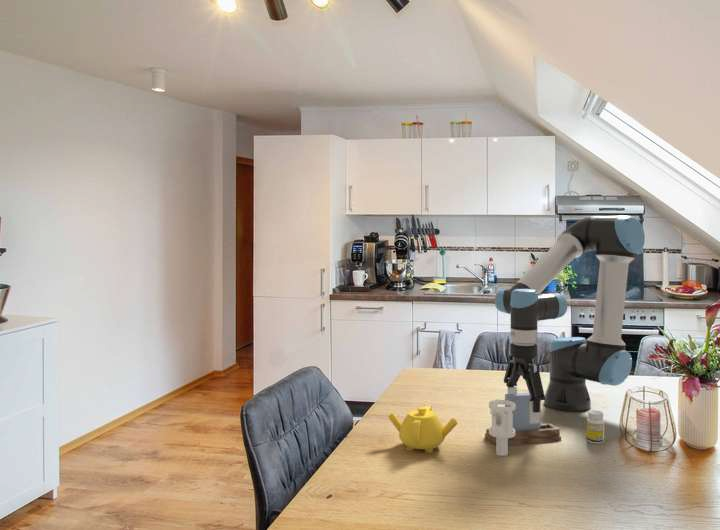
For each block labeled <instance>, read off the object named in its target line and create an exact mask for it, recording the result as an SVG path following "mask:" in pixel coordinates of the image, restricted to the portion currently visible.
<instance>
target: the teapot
mask: <svg viewBox="0 0 720 530" xmlns="http://www.w3.org/2000/svg"><path fill="white" fill-rule="evenodd" d="M387 418H388V419H389V421H390V422H391V423H392V425H393V426H394V427H395V429H396V430H397V431H398V433H399V434H398V437H399V440H400V441H401V442H402V443H403V444H404V446H406V448H405V449H406V450H407V451H410V452H412V451H415V450H416V449H417V450H424V451H425V453H427V454H432V453H434V449H435V448H438V447H439V446H441V445H442V443H443V442H444V441H445V438H446V436H447V435H449V434H450V432H451V431H452V430H453V429H454V428H455V427H456V426H457V425H458V421H457V420H456V419H455V418H453V417H452V418H451V419H450V420H449V421H448V422H447V423H446V424H445V426H443V423H442V422H441V420H440V418H439V417H438V415H437V414H436V413H435V412H434V411H433V410H432V406H429V405H425V406H420V407H417V409H413V410H411V411H410V412H408V413H407V414H406V416H405V417H404V419H403V421H402V422H401V421H400V419H399V418H398V417H397V415H396V414H395V412H393V413H390V415H388V416H387Z"/></svg>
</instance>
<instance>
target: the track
mask: <svg viewBox="0 0 720 530" xmlns="http://www.w3.org/2000/svg"><path fill="white" fill-rule="evenodd" d="M560 431H561V429H560V428H559V427H557V426H556V425H554V424H552V423H541V426H540V429H536V430H525V431H516V432H515V436H514V437H512V438H508V446H512V445H515V446H516V445H524V444H534V443H535V444H536V443H545V442H555V441H556V442H557V441H562V436H561V435H560V433H561V432H560ZM484 437H485V438H486V439H487V440H489V442H491V443H492V444H493V445H494V446H496V437H493V436H491V435H490V434H489V428H486V429H485V433H484Z"/></svg>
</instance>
